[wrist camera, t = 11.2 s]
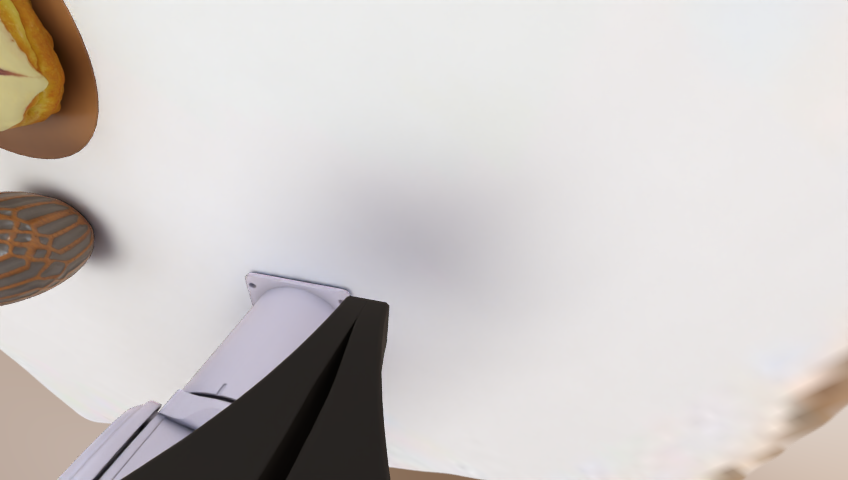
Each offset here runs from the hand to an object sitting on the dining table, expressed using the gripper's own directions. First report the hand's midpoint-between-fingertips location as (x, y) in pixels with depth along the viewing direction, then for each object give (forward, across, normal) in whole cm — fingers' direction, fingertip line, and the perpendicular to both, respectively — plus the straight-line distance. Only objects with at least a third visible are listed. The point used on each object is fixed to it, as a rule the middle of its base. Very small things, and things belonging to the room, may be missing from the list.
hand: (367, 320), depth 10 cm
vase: (+10, +26, +6) cm, 28 cm away
